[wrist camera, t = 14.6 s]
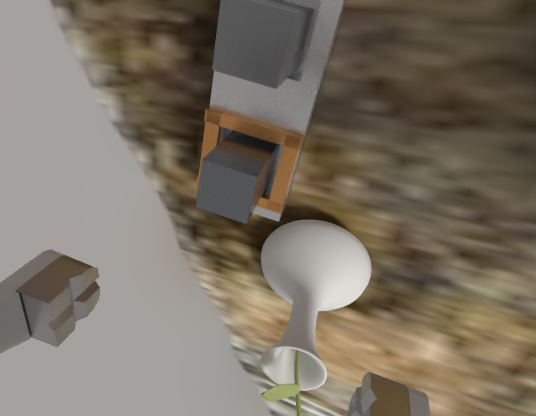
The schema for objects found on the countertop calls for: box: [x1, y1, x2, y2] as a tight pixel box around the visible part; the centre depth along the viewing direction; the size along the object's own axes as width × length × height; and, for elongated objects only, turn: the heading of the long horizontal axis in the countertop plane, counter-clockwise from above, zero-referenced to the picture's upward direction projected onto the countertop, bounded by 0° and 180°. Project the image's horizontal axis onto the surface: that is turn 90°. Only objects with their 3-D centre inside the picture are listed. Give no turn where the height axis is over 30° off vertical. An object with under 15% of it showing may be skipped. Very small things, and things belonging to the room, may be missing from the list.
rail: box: [196, 0, 347, 222], centre depth 26 cm, size 8×30×4 cm, turn 167°
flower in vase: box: [261, 220, 371, 416], centre depth 28 cm, size 13×11×25 cm
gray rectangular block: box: [196, 130, 280, 224], centre depth 28 cm, size 4×4×8 cm
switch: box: [212, 0, 314, 89], centre depth 23 cm, size 4×4×8 cm
